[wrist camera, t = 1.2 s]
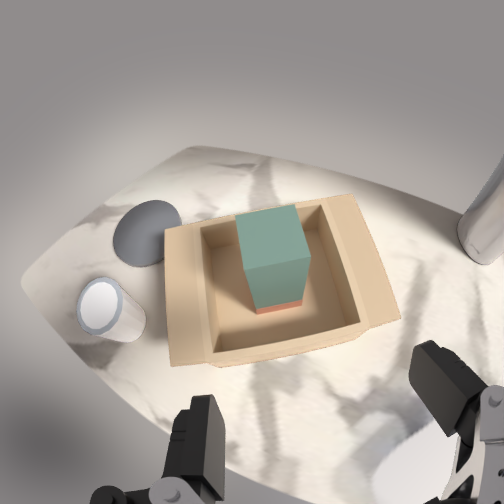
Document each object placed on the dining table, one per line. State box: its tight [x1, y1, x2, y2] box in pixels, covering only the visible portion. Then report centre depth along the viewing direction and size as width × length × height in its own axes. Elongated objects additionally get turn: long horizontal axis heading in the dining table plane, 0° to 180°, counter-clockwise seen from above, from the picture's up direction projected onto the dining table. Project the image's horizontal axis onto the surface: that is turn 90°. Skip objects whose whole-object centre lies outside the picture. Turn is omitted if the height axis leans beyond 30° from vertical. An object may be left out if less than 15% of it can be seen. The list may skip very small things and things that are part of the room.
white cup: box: [76, 277, 146, 342], centre depth 29 cm, size 7×7×7 cm
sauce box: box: [235, 204, 311, 315], centre depth 26 cm, size 5×5×12 cm
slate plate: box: [113, 200, 182, 267], centre depth 38 cm, size 11×11×1 cm
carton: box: [165, 194, 401, 368], centre depth 30 cm, size 23×16×6 cm
